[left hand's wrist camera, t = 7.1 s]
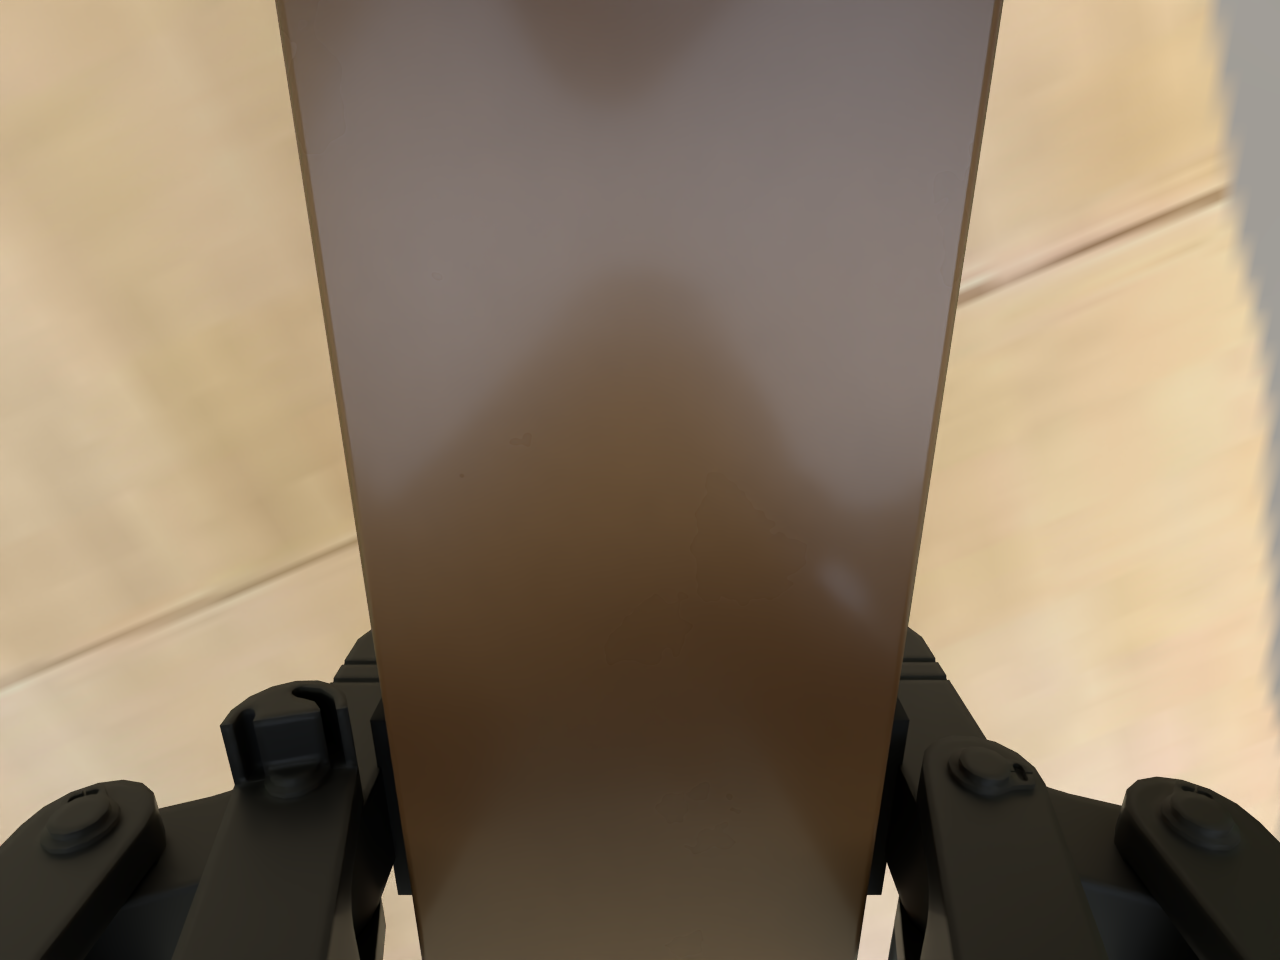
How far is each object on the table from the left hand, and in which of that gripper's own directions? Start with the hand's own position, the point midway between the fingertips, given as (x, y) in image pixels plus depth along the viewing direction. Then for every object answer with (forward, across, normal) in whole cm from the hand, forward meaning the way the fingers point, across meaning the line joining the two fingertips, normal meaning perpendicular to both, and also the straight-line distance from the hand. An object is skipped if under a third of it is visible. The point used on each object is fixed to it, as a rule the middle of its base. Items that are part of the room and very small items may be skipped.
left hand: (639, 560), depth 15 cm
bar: (+1, 0, -8) cm, 8 cm away
